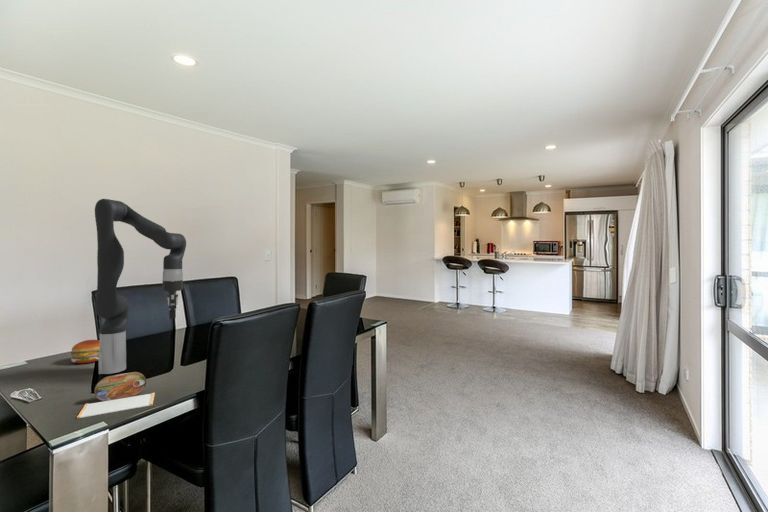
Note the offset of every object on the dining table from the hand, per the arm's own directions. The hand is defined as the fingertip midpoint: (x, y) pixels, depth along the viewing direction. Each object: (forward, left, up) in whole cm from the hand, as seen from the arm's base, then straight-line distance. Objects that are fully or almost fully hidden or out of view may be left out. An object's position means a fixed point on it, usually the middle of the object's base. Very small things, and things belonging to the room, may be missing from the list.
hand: (172, 316), depth 152 cm
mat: (-15, -27, -25) cm, 40 cm away
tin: (-16, -19, -25) cm, 35 cm away
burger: (-36, +40, -25) cm, 59 cm away
